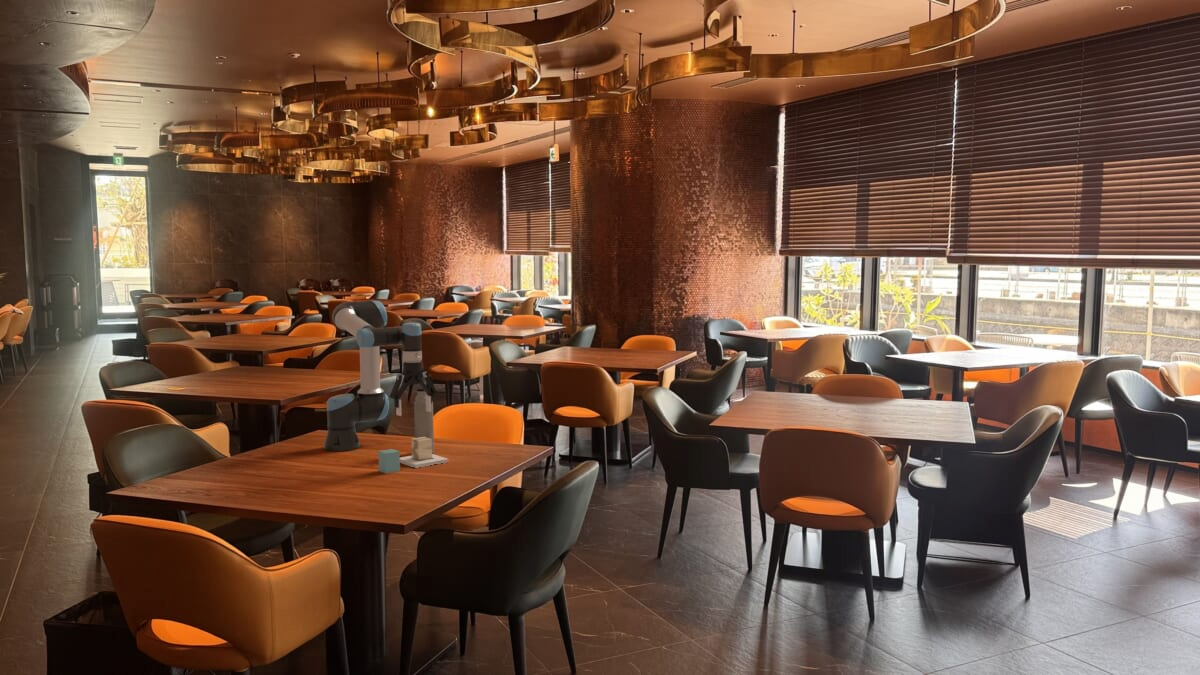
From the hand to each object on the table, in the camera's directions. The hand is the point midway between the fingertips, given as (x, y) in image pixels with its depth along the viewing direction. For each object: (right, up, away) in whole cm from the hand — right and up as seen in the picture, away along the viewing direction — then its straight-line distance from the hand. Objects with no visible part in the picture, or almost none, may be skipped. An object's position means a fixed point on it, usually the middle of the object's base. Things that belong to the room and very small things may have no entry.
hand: (413, 413), depth 364 cm
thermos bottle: (0, -19, +23) cm, 30 cm away
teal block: (-8, -22, -10) cm, 25 cm away
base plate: (+2, -20, +5) cm, 21 cm away
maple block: (+2, -19, +5) cm, 20 cm away
